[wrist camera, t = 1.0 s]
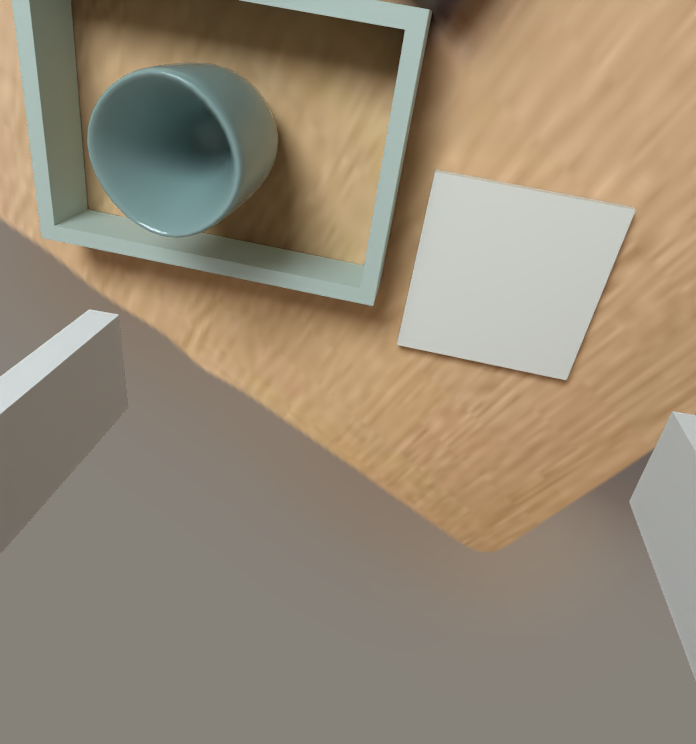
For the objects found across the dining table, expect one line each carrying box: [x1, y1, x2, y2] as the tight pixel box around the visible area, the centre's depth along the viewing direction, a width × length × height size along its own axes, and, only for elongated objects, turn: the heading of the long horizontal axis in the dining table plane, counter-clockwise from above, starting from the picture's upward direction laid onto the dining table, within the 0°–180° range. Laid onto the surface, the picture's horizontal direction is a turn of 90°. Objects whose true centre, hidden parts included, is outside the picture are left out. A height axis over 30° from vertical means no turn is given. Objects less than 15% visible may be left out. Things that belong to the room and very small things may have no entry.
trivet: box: [397, 169, 635, 380], centre depth 38 cm, size 12×12×1 cm
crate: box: [12, 0, 432, 306], centre depth 35 cm, size 16×22×4 cm
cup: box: [87, 62, 278, 238], centre depth 33 cm, size 8×8×10 cm
